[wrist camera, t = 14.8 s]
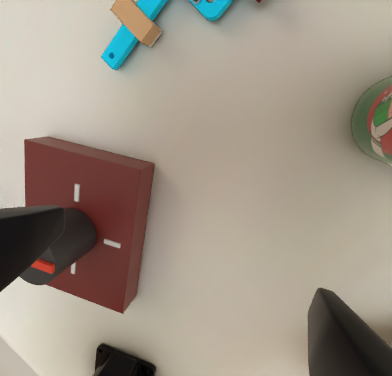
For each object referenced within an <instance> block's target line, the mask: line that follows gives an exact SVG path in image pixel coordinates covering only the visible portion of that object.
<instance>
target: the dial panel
mask: <svg viewBox="0 0 392 376" xmlns="http://www.w3.org/2000/svg"><path fill="white" fill-rule="evenodd" d="M24 145H25V205H26V207H30V206H44V205H56V206H60V207H62V208H64V209H67V208H72V209H77V210H79V211H81V212H83V213H84V214H86V215H87V216H88V217H89V218H90V220H91V221H92V223H93V224H94V226H95V229H96V234H97V239H96V243H95V246H94V247H93V249H92V250H91V251H89V252H88V253H87V254H85V255H84V256H83V257H81V258H80V259H79V260H78V261H76V262H75V263H74V264H72V265H71V266H70V267H69V268H67V269H66V270H65V271H63V272H62V273H61V274H59V275H58V276H57V277H56V278H54V279H53V280H52V281H50V282H49V283H47V284H46V285H48V286H51V287H54V288H56V289H59V290H62V291H64V292H67V293H70V294H72V295H75V296H77V297H80V298H83V299H85V300H88V301H91V302H93V303H96V304H99V305H101V306H104V307H106V308H109V309H112V310H114V311H117V312H120V313H122V314H123V313H124V311H125V310H126V309H127V307H128V306H129V305H130V303H131V302H132V300H133V299H134V298H135V296H136V293H137V286H138V278H139V271H140V264H141V257H142V250H143V243H144V236H145V228H146V221H147V214H148V207H149V200H150V193H151V186H152V178H153V171H154V163H150V162H146V161H142V160H138V159H134V158H130V157H126V156H122V155H118V154H114V153H111V152H107V151H103V150H99V149H95V148H91V147H87V146H83V145H79V144H75V143H71V142H67V141H63V140H59V139H56V138H52V137H42V138H34V139H25V140H24Z"/></svg>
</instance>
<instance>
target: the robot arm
mask: <svg viewBox="0 0 392 376" xmlns="http://www.w3.org/2000/svg"><path fill="white" fill-rule="evenodd" d="M64 229H65V209H64V208H62V207H60V206H56V205H44V206H30V207H17V208H4V209H0V292H1V291H2V290H3V289H4V288H6V287H7V286H8V285H9V284H10V283H12V282H13V281H14V280H15V279H16V278H17V277H19V276H20V275H21V274H22V273H23V272H24V271H26V270H27V269H28V268H29V267H30V266H31V265H32V264H34V263H35V262H36V261H37V260H38V259H39V258H40V257H41V256H42V255H43V253H44V252H45V251H46V250H47V249H48V248H49V247H50V246H51V245H52V244H53V243H54V242H55V241H56V240H57V239H58V238H59V237H60V236H61V235H62V234H63V232H64ZM308 364H309V374H310V376H392V348H391V347H390V346H389V345H388V344H387V343H386V342H385V341H383V340H382V339H381V338H380V337H379V336H378V335H377V334H376V333H375V332H374V331H373V330H372V329H371V328H370V327H369V326H368V325H367V324H366V323H365V322H364V321H363V320H362V319H361V318H360V317H359V316H358V315H357V314H356V313H355V312H354V311H353V310H352V309H350V308H349V307H348V306H347V305H346V304H345V303H344V302H343V301H342V300H341V299H340V298H339V297H338V296H337V295H336V294H335V293H334V292H332V291H330V290H327V289H323V288H318V289H317V291H316V293H315V295H314V298H313V300H312V303H311V305H310V308H309V311H308ZM155 372H156V367H155V366H154V365H152V364H150V363H148V362H145V361H143V360H140V359H138V358H136V357H133V356H131V355H128V354H126V353H123V352H121V351H118V350H116V349H114V348H111V347H109V346H106V345H104V344H100V345H99V346H98V348H97V352H96V363H95V373H94V374H93V376H155Z"/></svg>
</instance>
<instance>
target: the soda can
mask: <svg viewBox="0 0 392 376" xmlns="http://www.w3.org/2000/svg"><path fill="white" fill-rule="evenodd" d="M351 130H352V135H353V138H354V140H355V142H356V144H357V145H358V147H359V148H360V149H361V150H362V151H363V152H365V153H366V154H367V155H369V156H371V157H373V158H375V159H377V160H379V161H381V162H383V163H385V164H388V165H390V166H392V76H391V77H387V78H385V79H383V80H381V81H379V82H378V83H376V84H375V85H373V86H372V87H371V88H369V89H368V90H367V91H366V92H365V93H364V94H363V96H362V97H361V98H360V100H359V101H358V102H357V104H356V106H355V109H354V111H353V114H352V120H351Z"/></svg>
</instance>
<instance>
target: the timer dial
mask: <svg viewBox="0 0 392 376" xmlns="http://www.w3.org/2000/svg"><path fill="white" fill-rule="evenodd" d="M96 239H97V234H96V229H95V226H94V224H93V223H92V221H91V220H90V218H89V217H88V216H87V215H86V214H84V213H83V212H81V211H79V210H77V209H72V208H67V209H65V229H64V232H63V234H62V235H61V236H60V237H59V238H58V239H57V240H56V241H55V242H54V243H53V244H52V245H51V246H50V247H49V248H48V249H47V250H46V251H45V252H44V253H43V255H42V256H41V257H40V258H39V259H38V260H37V261H36V262H35V263H34V264H32V265H31V266H30V267H29V268H28V269H27V270H26V271H24V272H23V273H22V274H21V275H20V277H21V278H22V279H23V280H25V281H27V282H28V283H31V284H34V285H44V284H47V283H49V282H50V281H52V280H53V279H54V278H56V277H57V276H58V275H59V274H61V273H62V272H63V271H65V270H66V269H67V268H69V267H70V266H71V265H72V264H74V263H75V262H76V261H78V260H79V259H80V258H81V257H83V256H84V255H85V254H87V253H88V252H89V251H91V250H92V249H93V247H94V246H95V243H96Z"/></svg>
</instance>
